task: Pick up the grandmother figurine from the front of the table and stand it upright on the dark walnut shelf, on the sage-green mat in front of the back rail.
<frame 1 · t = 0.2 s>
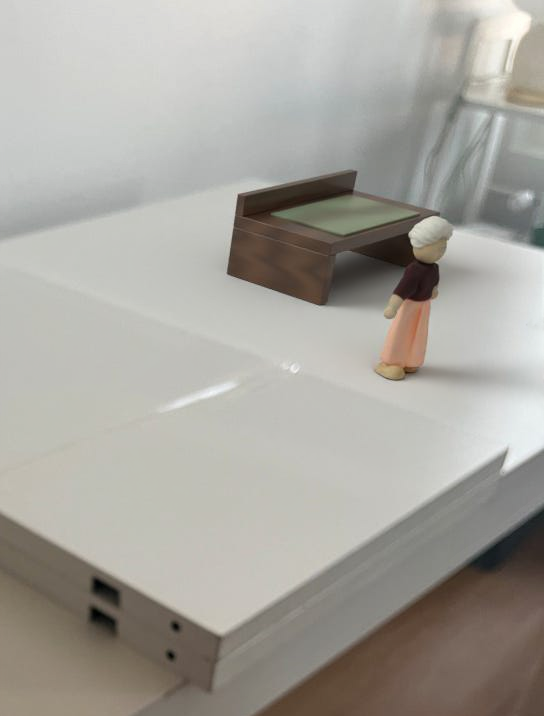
shelf: (328, 271, 111), on the table
grandmother figurine: (398, 371, 90), on the table
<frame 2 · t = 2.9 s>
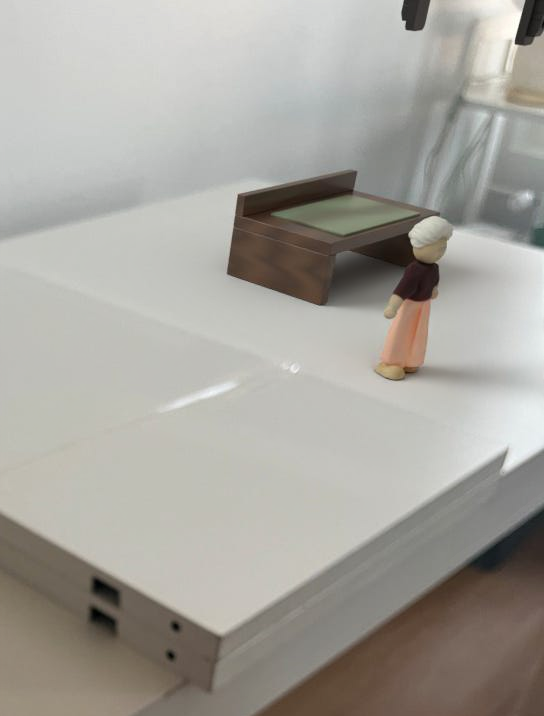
hand: (467, 37, 78), 25 cm above the table, tool pointing down, fingers open, 8 cm apart
nothing on the table moved.
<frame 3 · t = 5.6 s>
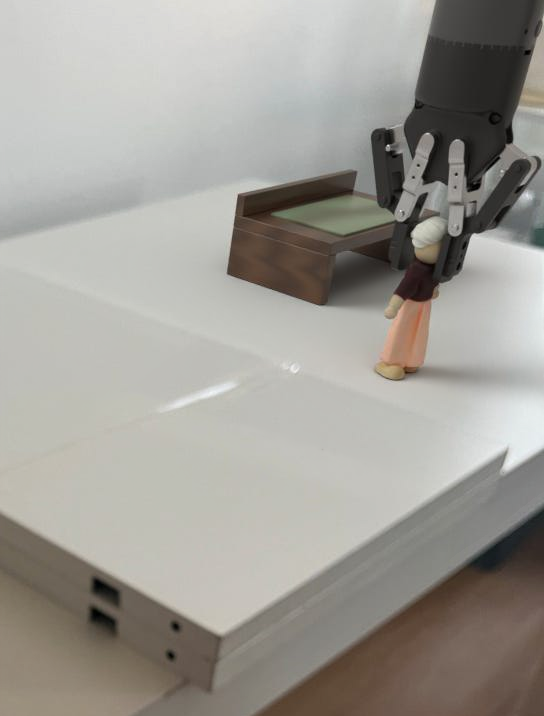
hand: (421, 273, 85), 8 cm above the table, tool pointing down, fingers closed on grandmother figurine, 3 cm apart
grandmother figurine: (398, 370, 90), on the table, touching gripper
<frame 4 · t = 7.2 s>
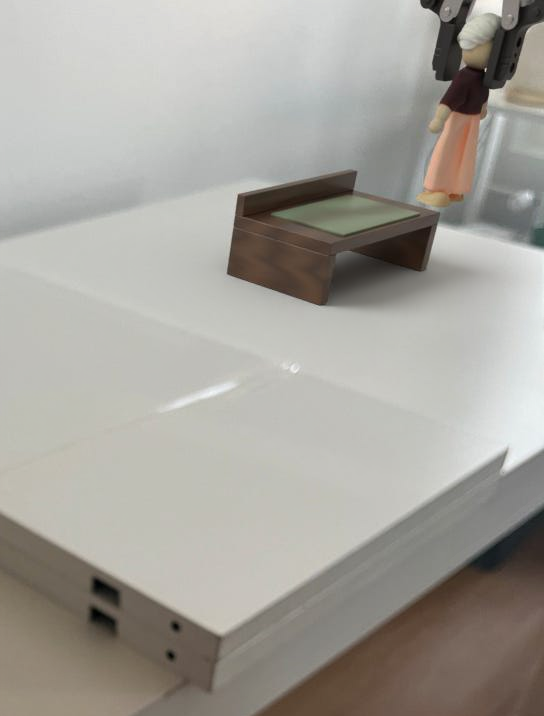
hand: (469, 82, 76), 22 cm above the table, tool pointing down, fingers closed on grandmother figurine, 3 cm apart
grandmother figurine: (442, 202, 81), point 14 cm above the table, touching gripper
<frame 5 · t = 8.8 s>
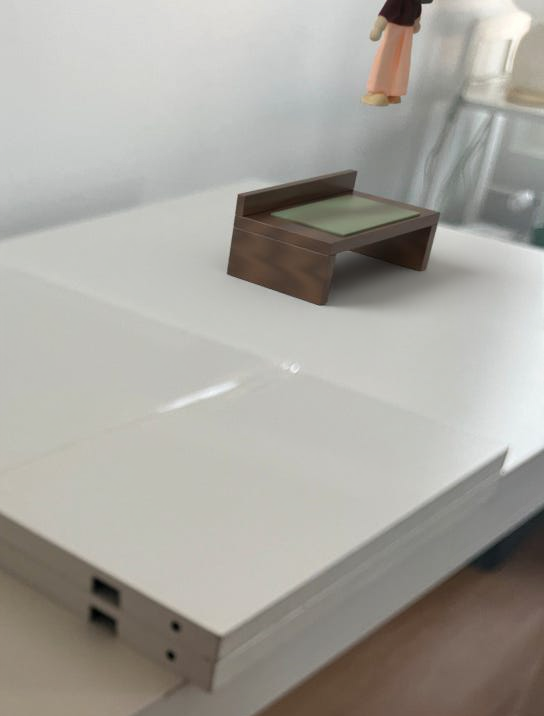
grandmother figurine: (382, 104, 96), point 17 cm above the table, touching gripper
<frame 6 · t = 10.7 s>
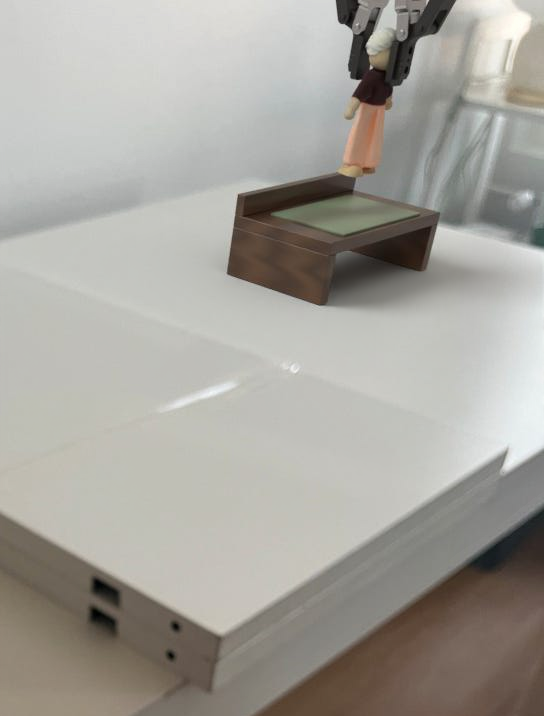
hand: (376, 81, 99), 18 cm above the table, tool pointing down, fingers closed on grandmother figurine, 3 cm apart
grandmother figurine: (358, 174, 104), point 10 cm above the table, touching gripper
when the fingers open (14 cm above the table, at t = 12.0 s): grandmother figurine stays where it is, resting on shelf.
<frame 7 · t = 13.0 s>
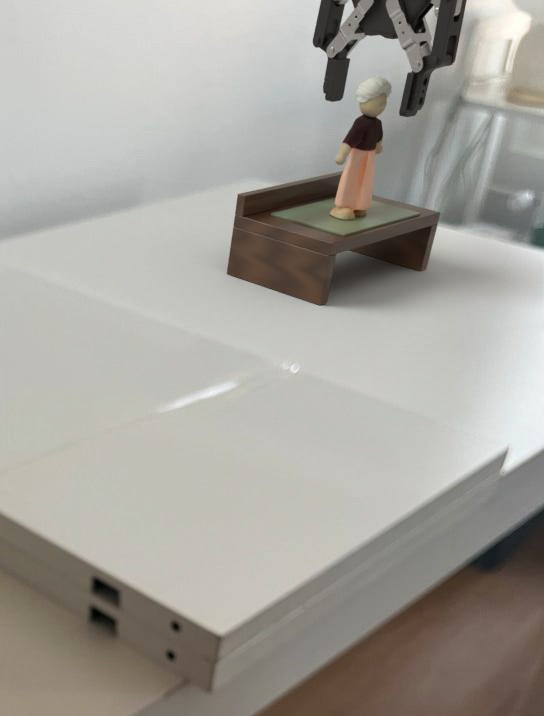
hand: (369, 108, 101), 16 cm above the table, tool pointing down, fingers open, 8 cm apart
grandmother figurine: (349, 216, 107), point 6 cm above the table, touching shelf
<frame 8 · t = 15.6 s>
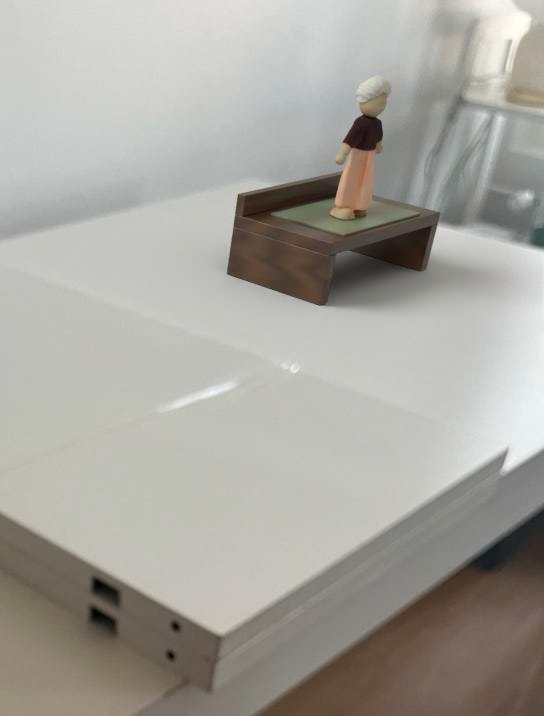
nothing on the table moved.
at the end: grandmother figurine inside the target area on the shelf (1.1 cm from its centre), point 6.0 cm above the shelf's base; grandmother figurine tilted 0°; the gripper is holding nothing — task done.
